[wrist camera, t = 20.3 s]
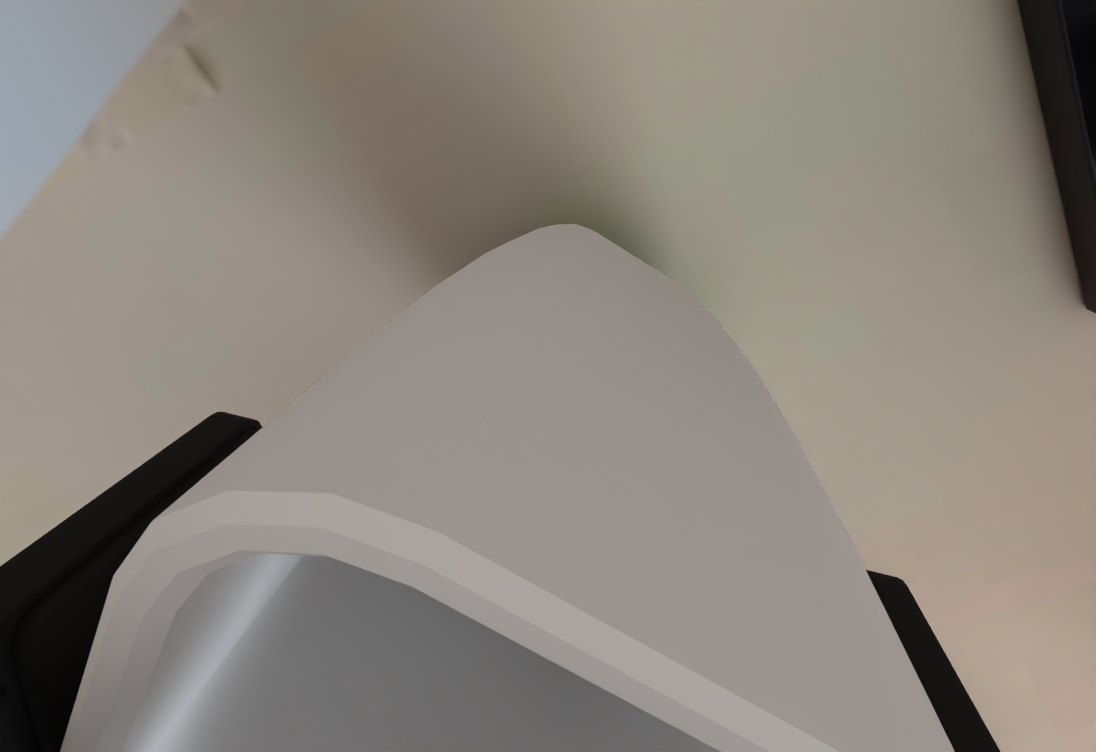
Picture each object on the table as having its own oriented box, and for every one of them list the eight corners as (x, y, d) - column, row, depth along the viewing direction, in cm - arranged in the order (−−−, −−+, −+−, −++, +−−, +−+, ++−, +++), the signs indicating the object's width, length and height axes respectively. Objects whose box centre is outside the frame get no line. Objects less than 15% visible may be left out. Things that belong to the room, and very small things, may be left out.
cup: (622, 471, 20) (589, 1170, 7) (436, 364, 20) (4, 909, 6) (758, 298, 17) (1164, 945, 4) (544, 164, 17) (152, 396, 3)
